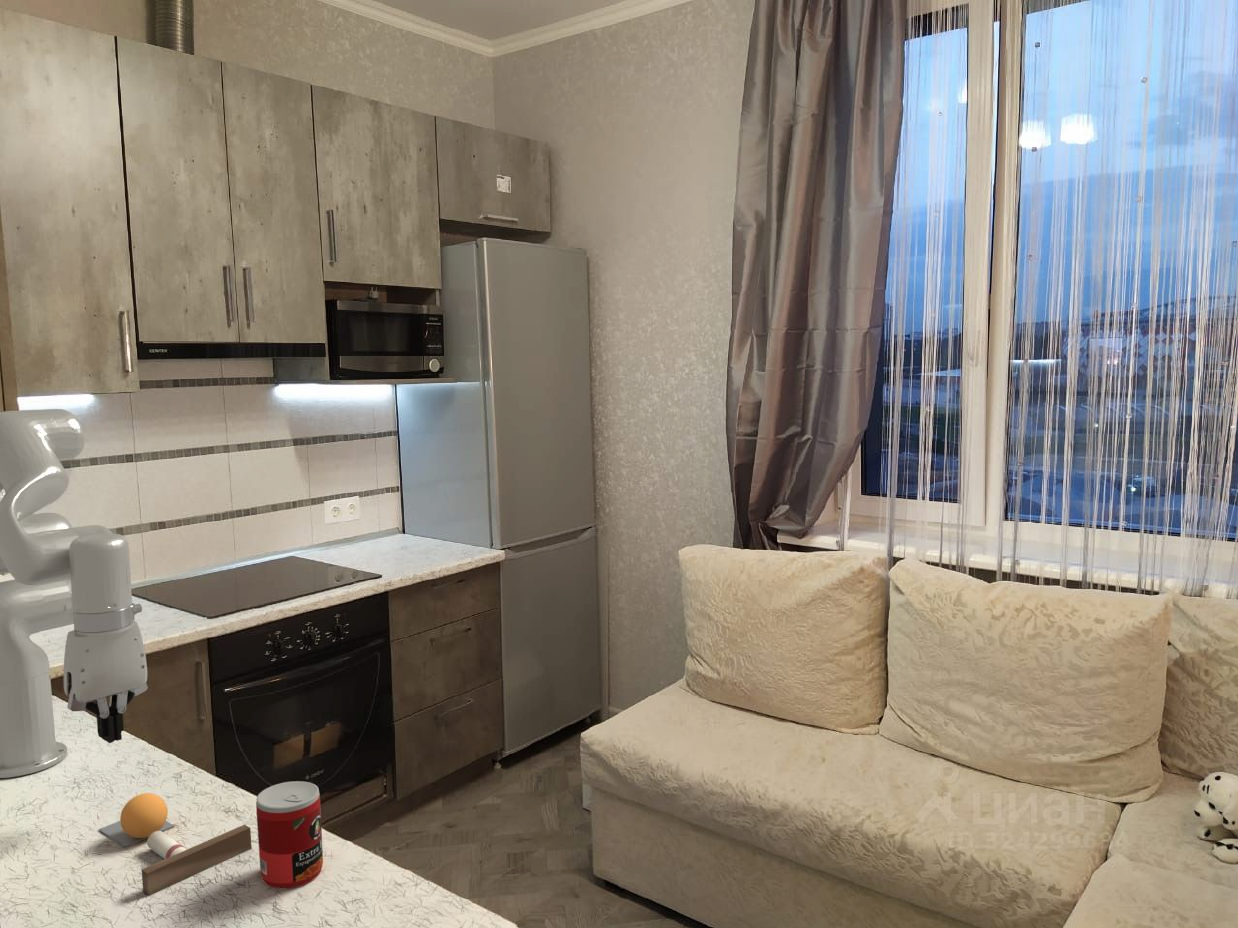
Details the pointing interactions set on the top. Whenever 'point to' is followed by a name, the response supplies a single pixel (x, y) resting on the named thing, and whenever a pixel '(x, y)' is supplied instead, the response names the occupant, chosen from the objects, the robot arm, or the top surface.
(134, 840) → the grey flat plate
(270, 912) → the top surface
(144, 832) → the ball
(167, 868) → the back wall
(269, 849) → the canned food
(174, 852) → the pin
